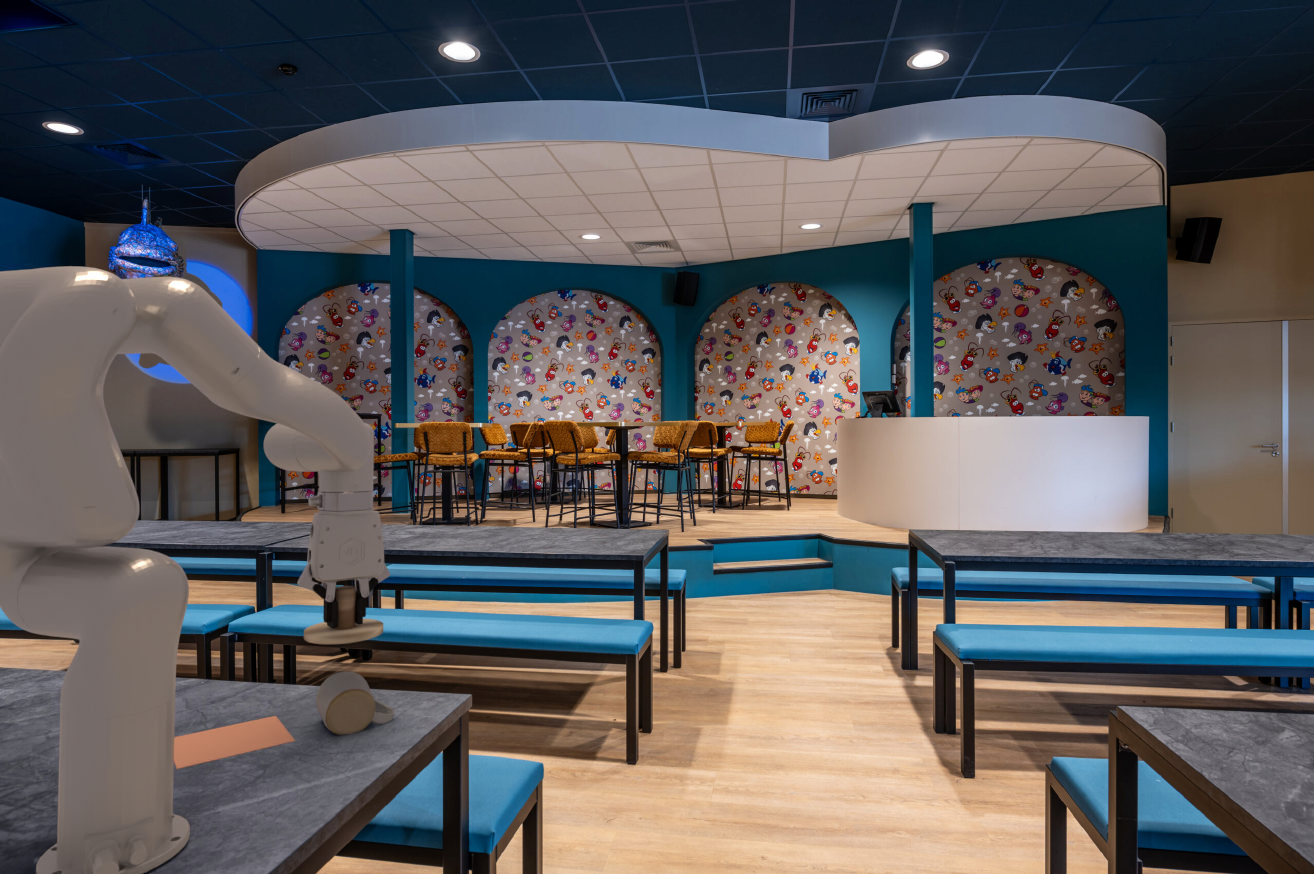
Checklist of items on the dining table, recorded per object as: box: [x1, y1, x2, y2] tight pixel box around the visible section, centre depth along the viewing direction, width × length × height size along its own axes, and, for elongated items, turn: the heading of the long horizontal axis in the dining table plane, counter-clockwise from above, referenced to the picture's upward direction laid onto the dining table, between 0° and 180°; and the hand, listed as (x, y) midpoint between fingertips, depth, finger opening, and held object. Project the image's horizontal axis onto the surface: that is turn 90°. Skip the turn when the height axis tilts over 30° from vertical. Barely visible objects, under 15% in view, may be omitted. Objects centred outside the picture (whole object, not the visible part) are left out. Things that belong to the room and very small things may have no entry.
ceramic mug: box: [315, 670, 395, 736], centre depth 107 cm, size 11×8×8 cm
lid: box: [303, 585, 384, 645], centre depth 107 cm, size 11×11×7 cm
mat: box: [174, 715, 296, 770], centre depth 100 cm, size 12×14×1 cm
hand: (344, 623), depth 107 cm, fingers closed on lid, 3 cm apart
